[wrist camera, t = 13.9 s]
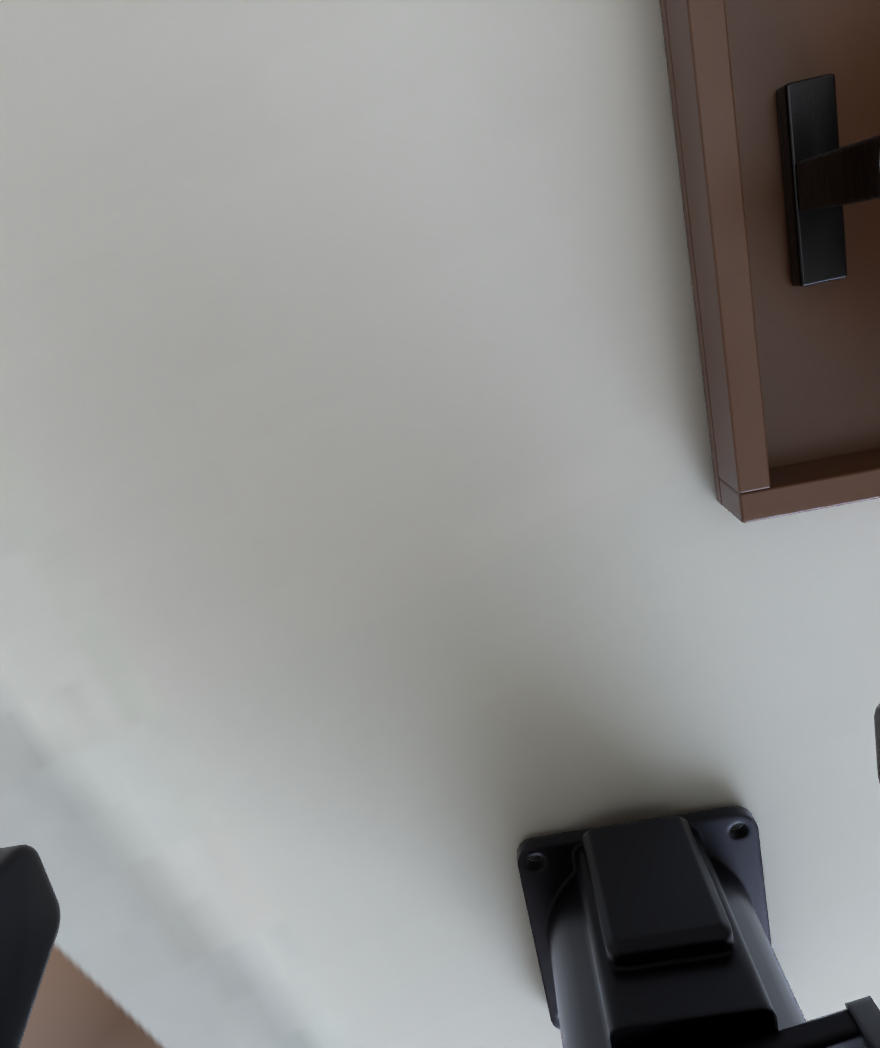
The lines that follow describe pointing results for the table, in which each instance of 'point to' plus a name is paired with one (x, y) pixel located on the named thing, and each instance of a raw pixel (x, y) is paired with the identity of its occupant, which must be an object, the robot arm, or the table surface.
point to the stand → (820, 178)
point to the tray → (777, 253)
